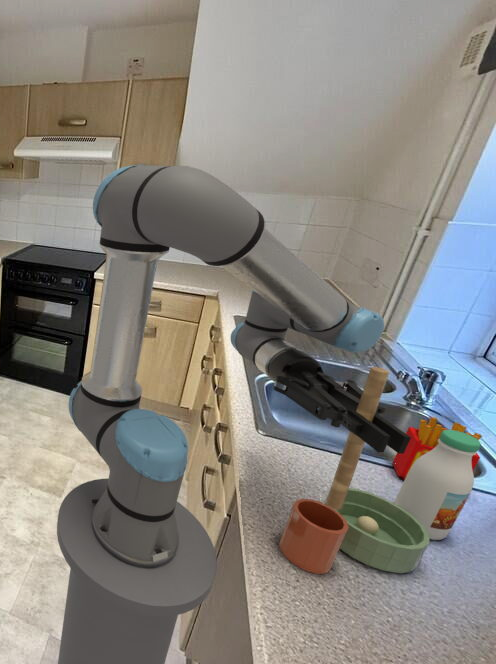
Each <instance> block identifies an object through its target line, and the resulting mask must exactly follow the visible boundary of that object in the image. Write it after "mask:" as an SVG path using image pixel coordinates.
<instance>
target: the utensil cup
mask: <svg viewBox="0 0 496 664" xmlns="http://www.w3.org/2000/svg"><path fill="white" fill-rule="evenodd" d="M292 504H293V505H292V507H291V510H290V513H289V515H288V518H287V520H286V523H285V526H284V528H283V531H282V534H281V537H280V540H279V549H280V551H281V552H282V554H283V556H284V557H285V558H286V559H287V560H288V561H290V562H291V563H292V564H293V565H295V566H296V567H298V568H300V569H301V570H303V571H306V572H308V573H312V574H317V575H323V574H327V573H328V572H329V571H331V568H332V567H333V564H334V562H335V560H336V557H337V555H338V553H339V550H340V549H339V548H340V546H341V544H342V542H343V539H344V537H345V535H346V533H347V530H348V528H349V526H348V524H347V521H346V520H345V519H344V517H343V516H342V515H341V514H340V513H338V512H337V511H336V510H334V509H333V508H331V507H329V506H327V505H325V504H324V503H323V502H321V501H318V500H315V499H311V498H298V499H297V500H295V501H294V503H292Z"/></svg>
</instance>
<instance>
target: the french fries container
mask: <svg viewBox="0 0 496 664" xmlns="http://www.w3.org/2000/svg"><path fill="white" fill-rule="evenodd" d="M437 422H438V418H437V417H433V416H431V417H430V419H429V421H427V420H426V419H420V421H419V426H418V427H419V428H416V427H413V426H409V427H408V428H407V429H406V432H405V434H407V435H408V436H410V437H411V439H410V441H409V443H408V445H407V448H406V450H405V452H404V454H401V453H397V452H396V454H395V456H394V458H393V460H392V462H391V463H392V465H393V468H394V471H395V473H396V475H397V478H401V479H402V480H403V481H404V480H405V478H406V476H407V474H408V472H409V471H410V469H411V467H412V465H413V464H414V463H415V461H416V460H417V459H418V458H419V457H421V456H422V455H424V454H426V453H428V452H429V451H431V450H432V449H434V448H435V447H436V446H437V445H438V444H439V442H438V439H440V435H441V433H442V432H443V431H444V430H449V429H447V428H446V427H443V425H442V424H438V423H437ZM467 428H468V427H466V426H464V425H462V424H461V423H459V422H455V421H454V422H453V424H452V427H451V429H450V430H455V431H459V432H463V433H465V434H468V435H470V436H472V437H474V438H476V439H477V440H478V441H479V442H480V440H481V439H482V437H483V435H482V434H481V433H477V432H475V433H474V434H472V433H470V432H467V431H466V430H467ZM480 459H481V456H480V455H479V453H478V451H477V452H476V455H473V456H472V462H471V464H472V471H473V472H474V470H475V468H476V466H477V464H478V463H479V460H480ZM395 463H396V464H395Z"/></svg>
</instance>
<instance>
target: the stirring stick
mask: <svg viewBox="0 0 496 664" xmlns="http://www.w3.org/2000/svg"><path fill="white" fill-rule="evenodd" d="M389 375H390V370H388V369H386V368H383V367H379V366H372V367H370V369H369V372H368V374H367V378H366V382H365V384H364V387H363V389H362V390H363V393H362V396H361V399H360V402H359V405H358V408H357V411H356V412H357V413H359V414H360V415H362V416H363V417H365V418H366V419H367V420H369V421H370V422H372V421H373V418H374V415H375V412H376V409H377V406H378V404H380V401H381V398H382V395H383V393H384V389H385V386H386V384H387V381H388V378H389ZM365 444H366V442H364V441H363V440H362V439H361V438H359V437H358V436H357V435H355V434H354V433H353V432H351V431H349V432H348V435H347V437H346V441H345V444H344V447H343V450H342V452H341V456H340V459H339V461H338V464H337V468H336V471H335V474H334V477H333V479H332V483H331V485H330V489H329V491H330V492H329V491H328V493H329V494H328V493H327V495H328V497H327V496H326V498H327V500H326V499H325V500H326V504H327V505H328V506H330V507H331V508H333V509H337V510H340V509H342V506H343V504H344V501H345V498H346V495H347V492H348V489H349V488H350V486H351V483H352V481H353V478H354V476H355V475H354V474H355V472H356V469H357V466H358V465H359V464H358V463H359V461H360V458H361V455H362V452H363V449H364V447H365Z"/></svg>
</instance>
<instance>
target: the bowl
mask: <svg viewBox="0 0 496 664" xmlns="http://www.w3.org/2000/svg"><path fill="white" fill-rule="evenodd" d="M329 492H330V490H329V491H328V493H327V495H326V498H325V500H324V503H323V504H325V505H327V504H326V500H327V497H328V494H329ZM327 506H328V505H327ZM329 507H330V506H329ZM334 510H336V511H337V512H338V513H340V514H341V515H342V516H343V517H344V519H345V520H346V521H347V524H348V526H349V528H348V530H347V533H346V535H345V537H344V539H343V542H342V544H341V546H340V548H339V550H341V551H342V552H343V553H345V554H346V555H348V556H349V557H351V558H352V559H354V560H356V561H358V562H360V563H362V564H364V565H366V566H369V567H371V568H374V569H377V570H381V571H384V572H389V573H396V574H403V573H411V572H412V571H413V570H415V569H416V568H417V567H418V565H419V564H420V561H421V559H422V558H423V556H424V554H425V552H426V550H427V549H428V547H429V545H430V540H431V539H430V536H429V534H428V532H427V530H426V529H425V527H424V526H423V525H422V524H421V523H420V522H419V521H418V520H417V519H416V518H415V517H414V516H412V515H411V514H410V513H408V512H407V511H406V510H404V509H403V508H401V507H400V506H398V505H396V504H394V502H392V501H391V500H389V499H386V498H385V497H382V496H380V495H377V494H375V493H373V492H369V491H366V490H363V489H358V488H354V487H349V489H348V492H347V495H346V498H345V501H344V504H343V506H342V509H340V510H337V509H334ZM361 516H368V517H370V518H372V519H374V520H375V521H376V522H377V524H378V526H379V530H378V532H377V533H375V534H369V533H366V532H364V531H363V530H361V529H359V528H358V527H357V524H356V521H357V519H358V518H359V517H361Z"/></svg>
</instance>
